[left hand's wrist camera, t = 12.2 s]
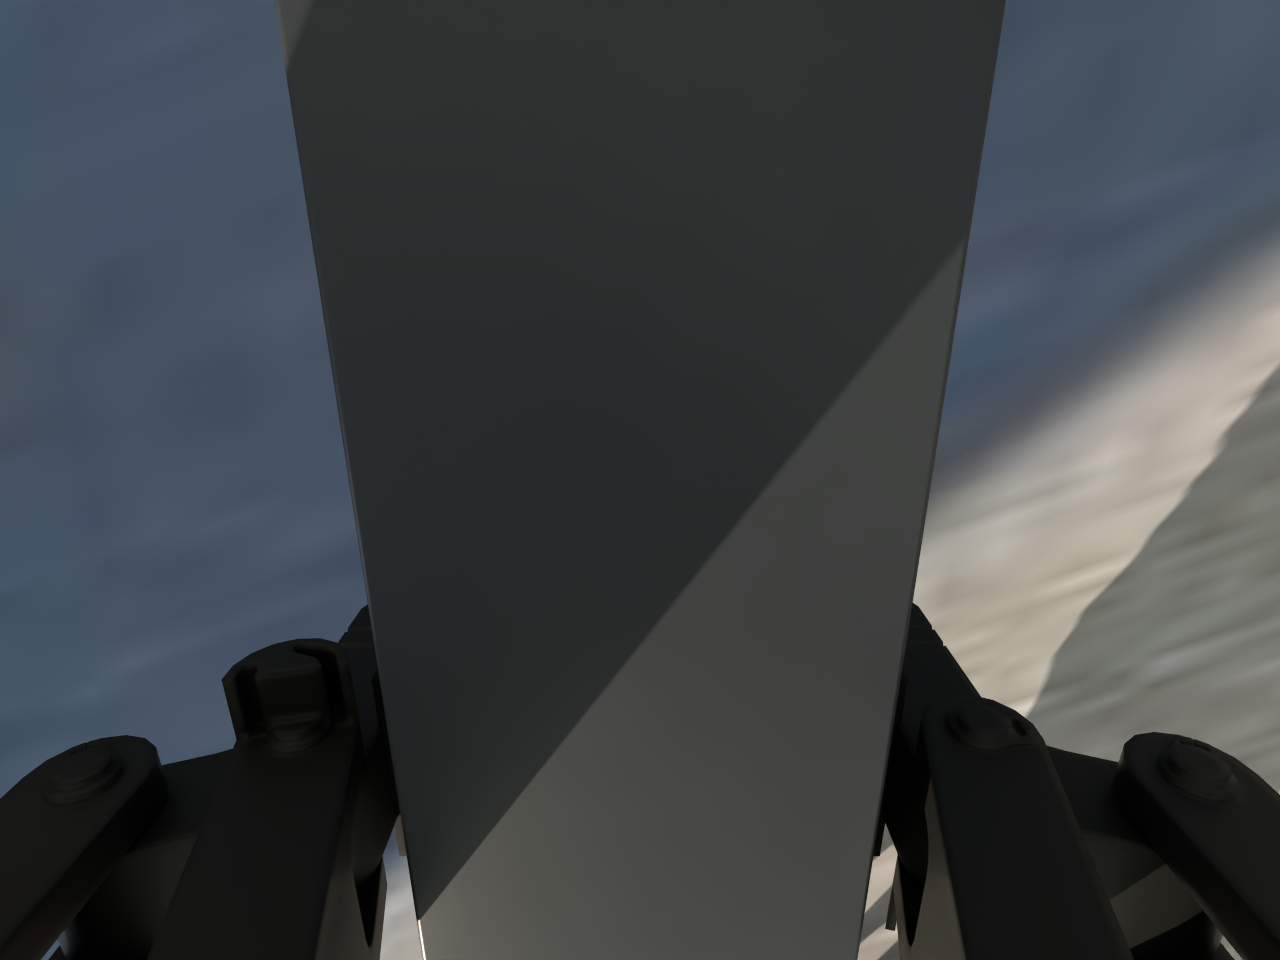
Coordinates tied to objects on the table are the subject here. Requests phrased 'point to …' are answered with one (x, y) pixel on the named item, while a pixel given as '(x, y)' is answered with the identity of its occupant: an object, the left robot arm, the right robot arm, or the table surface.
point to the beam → (640, 439)
